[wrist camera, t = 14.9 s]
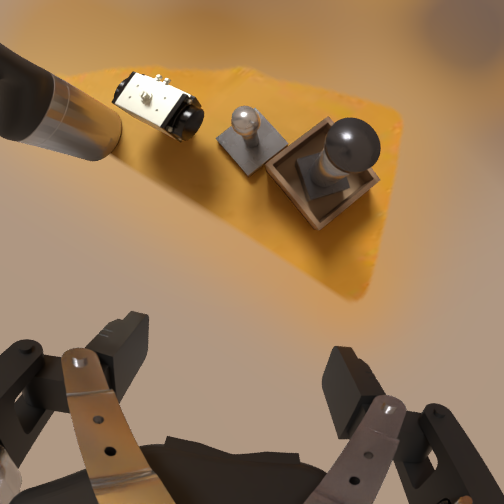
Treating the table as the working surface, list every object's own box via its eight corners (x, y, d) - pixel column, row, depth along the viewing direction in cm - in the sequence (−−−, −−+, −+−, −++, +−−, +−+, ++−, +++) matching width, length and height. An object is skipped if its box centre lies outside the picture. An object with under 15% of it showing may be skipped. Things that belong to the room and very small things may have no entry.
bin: (266, 171, 39) (265, 164, 34) (322, 128, 37) (328, 116, 33) (313, 229, 39) (319, 230, 34) (368, 184, 38) (380, 179, 33)
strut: (294, 165, 37) (309, 120, 19) (330, 154, 37) (371, 106, 19) (306, 201, 38) (333, 186, 20) (342, 191, 37) (395, 168, 19)
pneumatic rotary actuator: (199, 155, 39) (170, 131, 27) (139, 122, 39) (99, 95, 28) (220, 123, 39) (199, 89, 27) (159, 93, 39) (125, 59, 27)
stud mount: (217, 140, 39) (198, 115, 28) (255, 110, 38) (249, 77, 27) (248, 177, 39) (239, 161, 28) (288, 145, 38) (292, 120, 28)
